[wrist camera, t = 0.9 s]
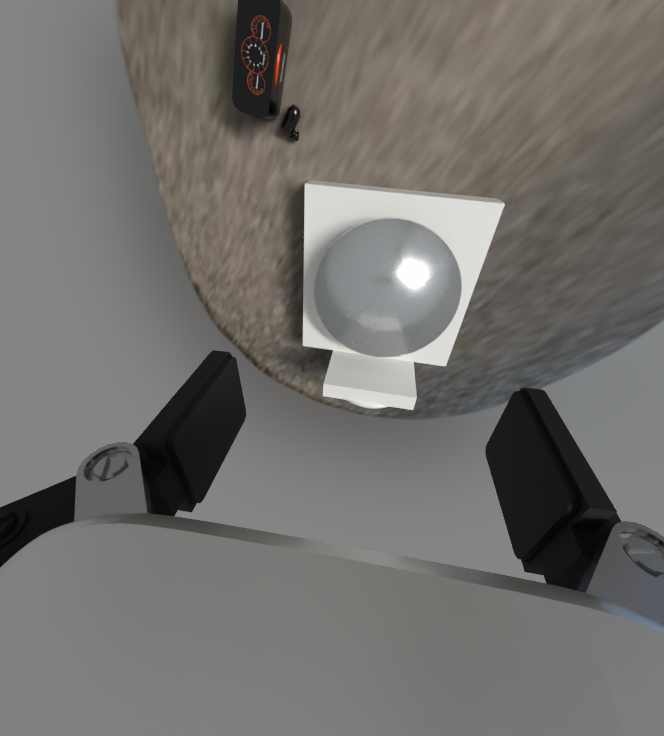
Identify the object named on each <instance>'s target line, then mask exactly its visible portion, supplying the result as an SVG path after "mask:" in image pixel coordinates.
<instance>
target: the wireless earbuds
mask: <svg viewBox="0 0 664 736" xmlns="http://www.w3.org/2000/svg"><path fill="white" fill-rule="evenodd" d="M291 25H292V16H291V12H290V10H289V8H288V7H287V6H286V5H285V3H284V2H283V1H282V0H238V11H237V28H236V45H235V61H234V78H233V95H232V99H233V103H234V105H235V107H236V108H237V109H238V110H240V111H242V112H245V113H248V114H251V115H253V116H256V117H259V118H265V119H272V120H273V119H276V118H277V117H278V116H279V113H280V106H281V99H282V91H283V84H284V77H285V69H286V62H287V55H288V47H289V40H290V32H291ZM299 119H300V109H299V108H298V107H297V106H296V105H291V106H290V107H289V108H288V110H287V112H286V115H285V117H284V120H283V122H282V124H281V128H282V129H283V130H284V131H285V132H286V133H287V134H291V136H290V138H291V139H293V140H295V141H298V139H299V132H296V131H295V127H296V125H297V123H298V121H299ZM295 132H296V133H295Z"/></svg>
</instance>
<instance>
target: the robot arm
mask: <svg viewBox="0 0 664 736" xmlns="http://www.w3.org/2000/svg"><path fill="white" fill-rule="evenodd" d="M245 417H246V409H245V404H244V398H243V393H242V387H241V383H240V377H239V372H238V366H237V361H236V358H235V357H232V355H231V353H229V352H222V351H212V352H211V353H210V354H209V355H208V356H207V357H206V359H205V360H204V361H203V362H202V363H201V364H200V366H199V367H198V368H197V369H196V370H195V372H194V373H193V374H192V375H191V376H190V378H189V379H188V380H187V381H186V382H185V384H184V385H183V386H182V387H181V388H180V389H179V390H178V391H177V393H176V394H175V395H174V396H173V397H172V399H171V400H170V401H169V402H168V403H167V405H166V406H165V407H164V408H163V409H162V410H161V412H160V413H159V414H158V415H157V416H156V418H155V419H154V420H153V421H152V422H151V424H150V425H149V426H148V427H147V428H146V430H145V431H144V432H143V433H142V434H141V435H140V436H139V438H138V439H137V440H136V441H135V442H134V444H131V443H127V442H117V443H113V444H109V445H106V446H104V447H101V448H99V449H97V450H96V451H95V452H93V453H91V454H90V455H89V456H88V457H87V458H86V459H85V460H84V461H83V462H82V463H81V465H80V466H79V468H78V471H77V475H76V476H75V477H72V478H70V479H68V480H65V481H63V482H60V483H58V484H56V485H53V486H51V487H49V488H46V489H44V490H41V491H39V492H36V493H34V494H31V495H29V496H27V497H24V498H22V499H20V500H17V501H15V502H12V503H10V504H7V505H5V506H3V507H0V736H664V537H663V536H662V535H660V534H659V533H657V532H655V531H654V530H652V529H650V528H648V527H646V526H644V525H641V524H638V523H635V522H627V521H623V522H621V520H620V518H619V517H618V515H617V513H616V512H617V511H616V509H615V508H614V506H613V504H612V503H611V501H610V499H609V498H608V496H607V494H606V493H605V491H604V489H603V488H602V486H601V484H600V483H599V481H598V479H597V478H596V476H595V474H594V473H593V471H592V469H591V468H590V466H589V464H588V462H587V461H586V459H585V457H584V456H583V454H582V452H581V451H580V449H579V447H578V446H577V444H576V442H575V441H574V439H573V437H572V436H571V434H570V432H569V431H568V429H567V427H566V425H565V424H564V422H563V420H562V419H561V417H560V415H559V414H558V412H557V410H556V409H555V407H554V405H553V404H552V402H551V400H550V399H549V397H548V395H547V394H546V392H545V391H544V390H540V389H531V388H521V389H520V390H519V391H515V392H514V393H513V394H512V396H511V398H510V400H509V402H508V404H507V406H506V408H505V410H504V412H503V414H502V416H501V418H500V420H499V422H498V424H497V426H496V428H495V430H494V432H493V433H492V435H491V437H490V439H489V441H488V443H487V445H486V458H487V461H488V464H489V467H490V471H491V475H492V478H493V482H494V485H495V488H496V492H497V495H498V499H499V502H500V506H501V509H502V513H503V516H504V519H505V523H506V526H507V530H508V533H509V537H510V540H511V543H512V547H513V550H514V553H515V555H516V557H517V558H518V559H521V561H522V564H523V567H524V571H525V572H529V573H535V574H540V575H544V578H545V581H546V583H547V584H545V583H540V582H535V581H530V580H525V579H520V578H515V577H511V576H506V575H500V574H496V573H490V572H485V571H479V570H474V569H469V568H463V567H458V566H452V565H447V564H441V563H436V562H431V561H425V560H420V559H415V558H409V557H404V556H398V555H392V554H387V553H382V552H376V551H371V550H365V549H360V548H354V547H349V546H343V545H338V544H332V543H326V542H321V541H315V540H309V539H304V538H299V537H293V536H287V535H282V534H276V533H270V532H264V531H259V530H253V529H247V528H242V527H236V526H230V525H225V524H219V523H212V522H206V521H200V520H192V519H187V518H181V517H174V516H175V514H176V512H177V510H181V511H187V512H192V511H193V509H194V507H195V505H196V504H197V503H201V502H202V500H203V499H204V497H205V495H206V494H207V492H208V490H209V488H210V486H211V484H212V482H213V480H214V478H215V476H216V474H217V472H218V471H219V469H220V466H221V465H222V463H223V461H224V459H225V457H226V455H227V453H228V451H229V449H230V447H231V445H232V444H233V442H234V440H235V438H236V436H237V434H238V432H239V430H240V428H241V426H242V424H243V422H244V420H245Z"/></svg>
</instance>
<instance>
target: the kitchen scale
mask: <svg viewBox="0 0 664 736" xmlns="http://www.w3.org/2000/svg"><path fill="white" fill-rule="evenodd" d="M504 205H505V204H504V203H503V202H501V201H500V200H498V199H495V198H485V197H475V196H465V195H455V194H445V193H435V192H425V191H415V190H405V189H395V188H384V187H374V186H364V185H354V184H344V183H334V182H324V181H314V180H311V181H309V182H307V183H305V204H304V286H303V346H308V347H315V348H322V349H329V350H333V352H332V356H331V360H330V363H329V367H328V370H327V374H326V377H325V381H324V387H323V396H327V397H333V398H339V399H345V400H347V401H348V402H350V403H352V404H355V405H357V406H361V407H365V408H375V409H377V408H385V407H389V406H390V407H396V408H403V409H409V410H413V408H414V405H415V402H416V399H417V395H416V384H415V373H414V362H418V363H425V364H432V365H439V366H446V364H447V361H448V359H449V356H450V353H451V351H452V348H453V345H454V342H455V340H456V337H457V334H458V331H459V329H460V326H461V323H462V320H463V318H464V315H465V312H466V309H467V307H468V304H469V301H470V298H471V296H472V293H473V290H474V287H475V285H476V282H477V279H478V276H479V274H480V271H481V268H482V265H483V263H484V260H485V257H486V254H487V252H488V249H489V246H490V243H491V241H492V238H493V235H494V232H495V230H496V227H497V224H498V221H499V219H500V216H501V213H502V210H503V208H504Z"/></svg>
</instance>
